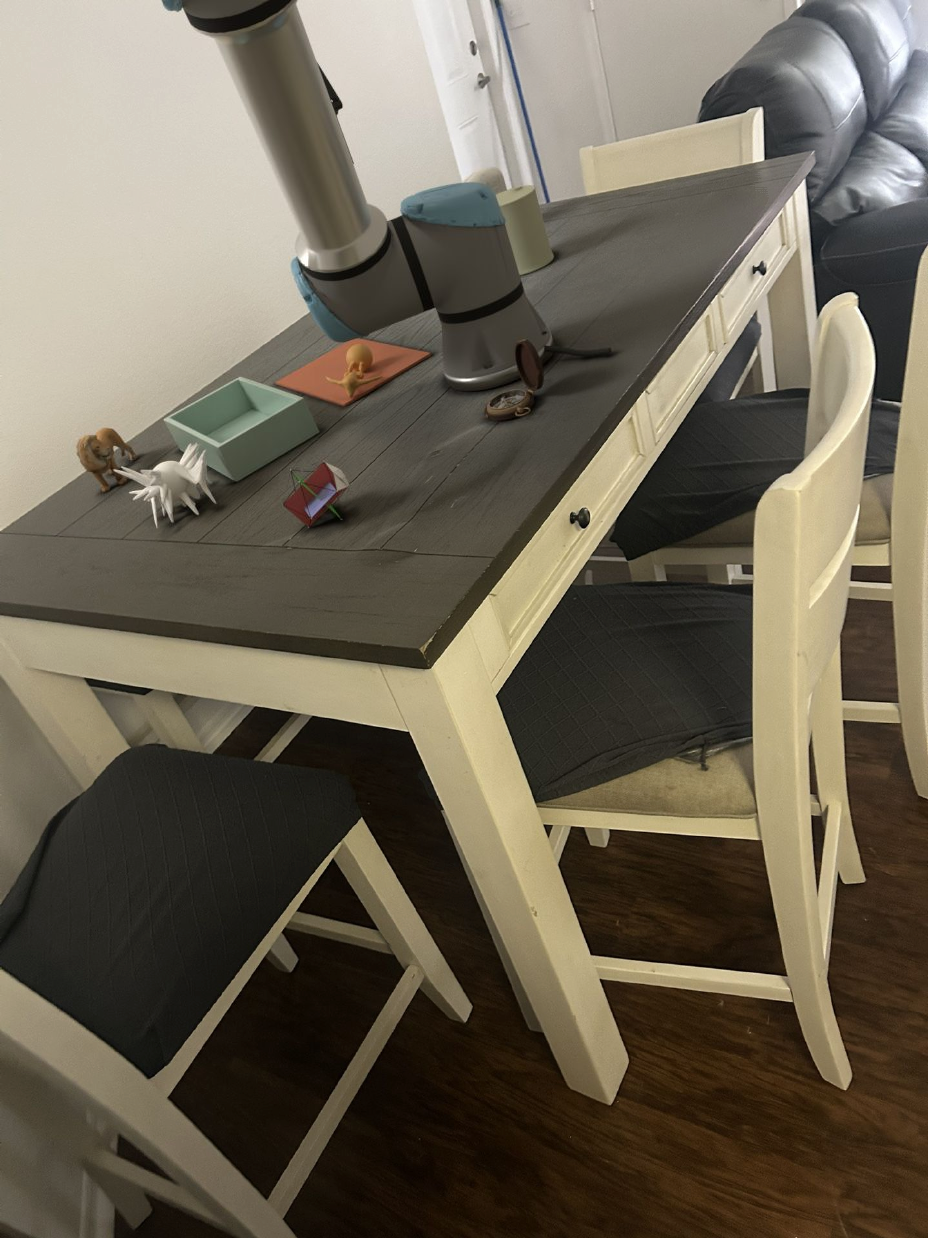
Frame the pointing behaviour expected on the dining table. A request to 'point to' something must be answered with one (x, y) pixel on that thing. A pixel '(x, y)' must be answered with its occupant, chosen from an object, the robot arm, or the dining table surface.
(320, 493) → the geometric puzzle
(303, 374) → the mat
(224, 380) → the dining table surface
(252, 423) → the basin
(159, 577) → the dining table surface
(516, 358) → the compass
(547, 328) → the robot arm
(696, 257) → the dining table surface
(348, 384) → the figurine
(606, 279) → the dining table surface
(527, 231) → the can
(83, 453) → the lion figurine
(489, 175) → the white curved piece
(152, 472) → the spiky ball
